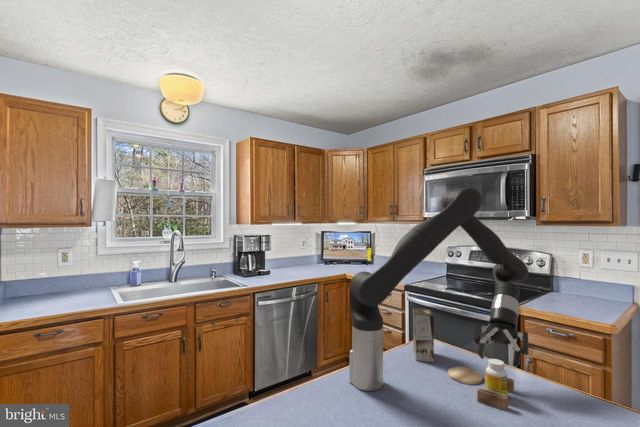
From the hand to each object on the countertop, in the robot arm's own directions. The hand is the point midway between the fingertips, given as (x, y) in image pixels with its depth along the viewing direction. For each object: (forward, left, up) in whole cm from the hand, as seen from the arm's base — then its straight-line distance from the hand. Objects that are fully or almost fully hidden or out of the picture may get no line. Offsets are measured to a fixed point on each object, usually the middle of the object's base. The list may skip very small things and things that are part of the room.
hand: (497, 361), depth 96 cm
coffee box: (-26, +11, -9) cm, 29 cm away
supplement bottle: (0, -3, -9) cm, 9 cm away
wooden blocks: (0, -3, -9) cm, 9 cm away
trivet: (-10, +4, -9) cm, 14 cm away
